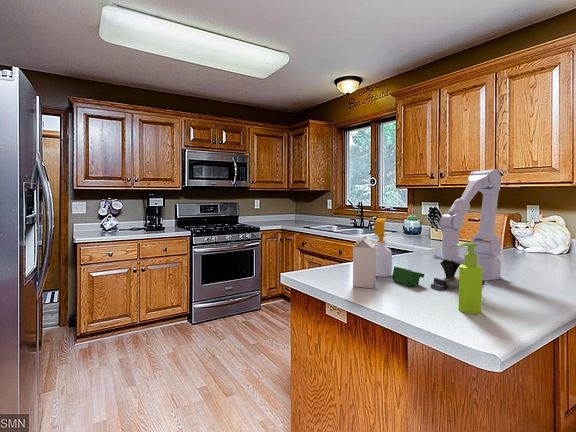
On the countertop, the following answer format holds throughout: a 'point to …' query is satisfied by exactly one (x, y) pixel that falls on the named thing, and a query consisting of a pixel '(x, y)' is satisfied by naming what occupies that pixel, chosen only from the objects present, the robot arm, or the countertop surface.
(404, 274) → the green angular piece
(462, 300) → the soap dispenser
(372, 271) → the milk carton
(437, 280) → the chain end blocks
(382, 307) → the countertop surface
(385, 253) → the soap bottle
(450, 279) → the light wood block
